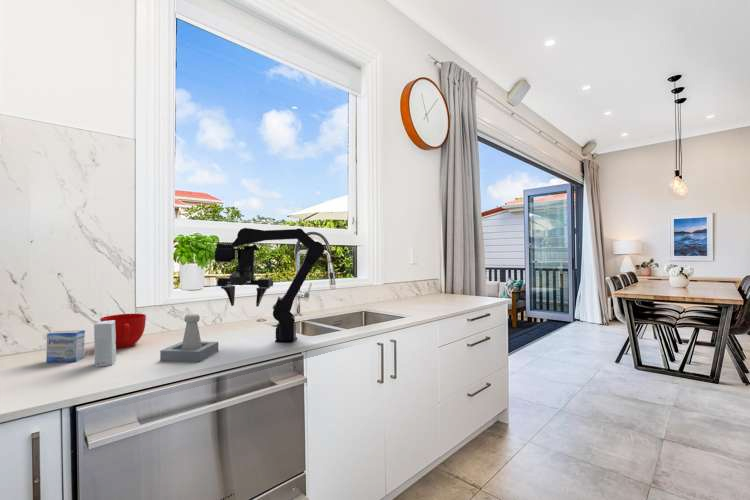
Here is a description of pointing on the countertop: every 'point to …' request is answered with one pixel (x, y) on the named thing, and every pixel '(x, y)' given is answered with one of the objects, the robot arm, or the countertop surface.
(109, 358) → the skincare box
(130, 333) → the ceramic cup
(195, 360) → the grey square tray
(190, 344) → the salt shaker
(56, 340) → the medicine box
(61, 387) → the countertop surface
